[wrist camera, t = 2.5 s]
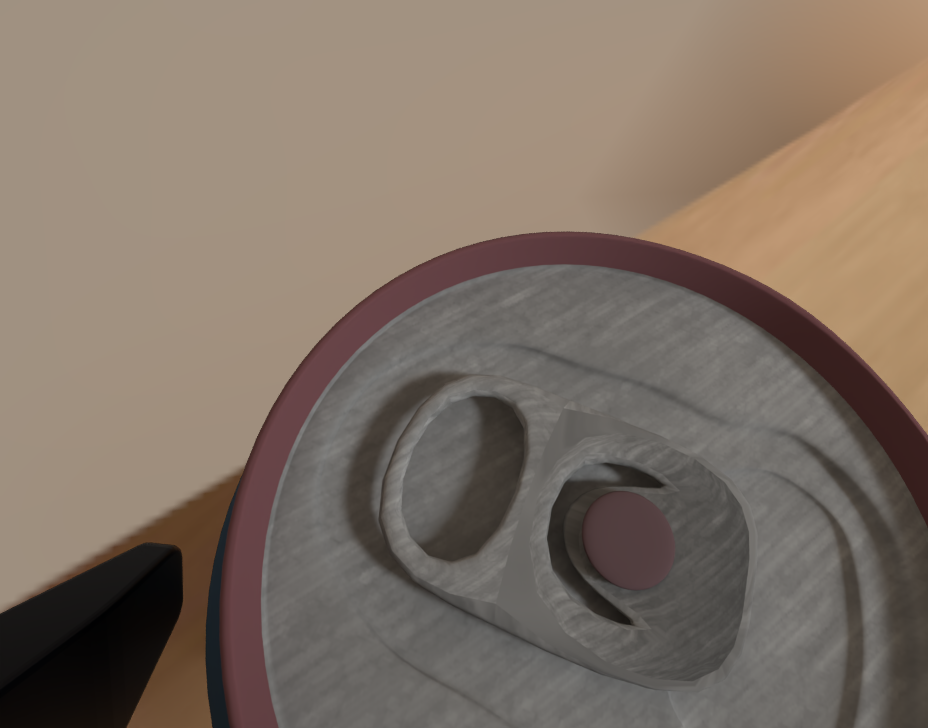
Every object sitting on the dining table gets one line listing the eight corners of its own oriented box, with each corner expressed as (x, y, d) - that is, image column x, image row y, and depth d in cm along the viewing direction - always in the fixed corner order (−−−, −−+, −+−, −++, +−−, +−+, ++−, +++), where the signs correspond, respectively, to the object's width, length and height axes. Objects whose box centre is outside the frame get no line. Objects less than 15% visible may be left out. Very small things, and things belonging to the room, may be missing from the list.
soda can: (614, 543, 16) (1060, 340, 5) (542, 827, 12) (1345, 1864, 2) (400, 450, 16) (404, 96, 6) (278, 698, 13) (-225, 929, 3)
